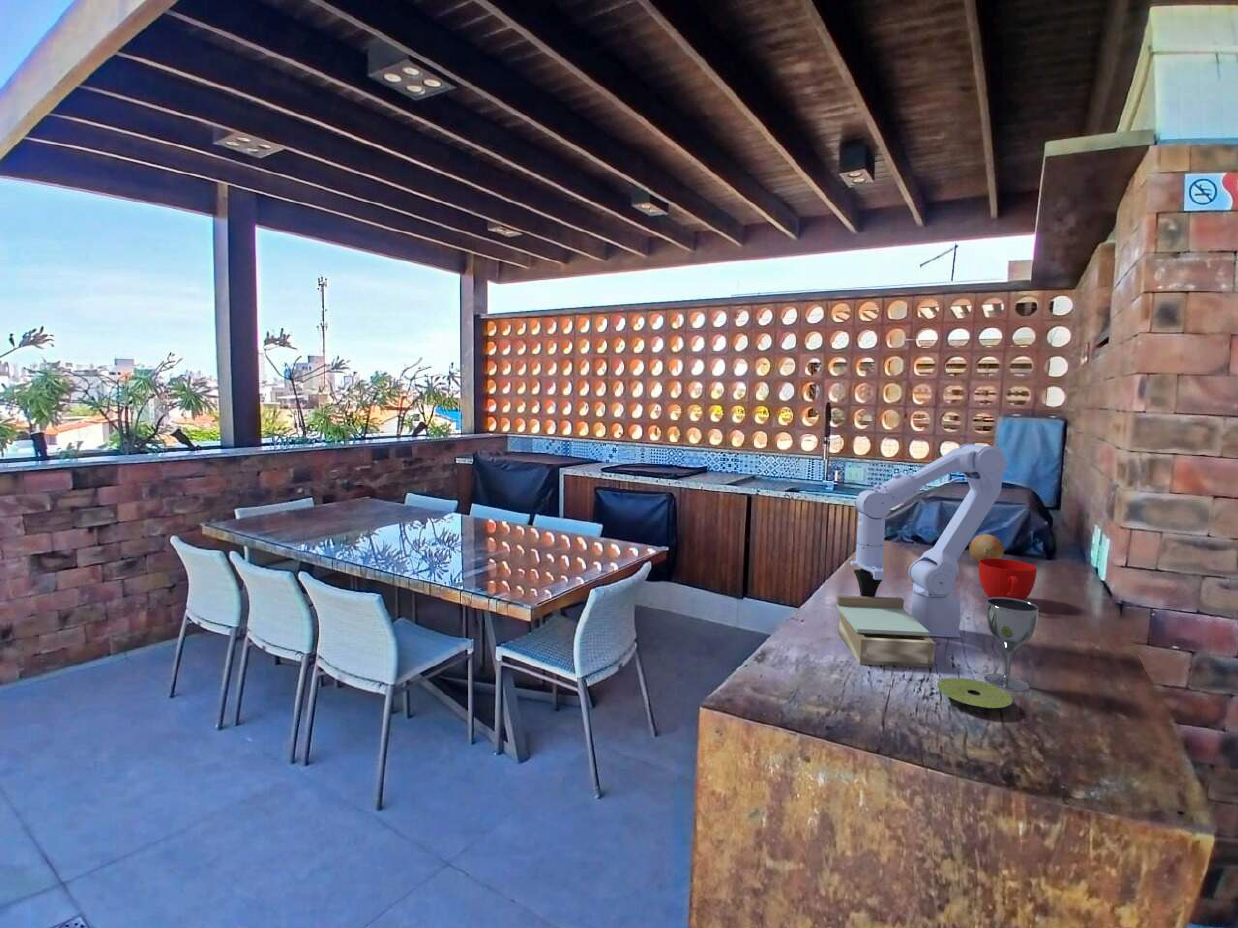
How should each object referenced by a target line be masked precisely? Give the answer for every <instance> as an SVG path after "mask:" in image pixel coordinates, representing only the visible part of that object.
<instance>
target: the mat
mask: <svg viewBox="0 0 1238 928" xmlns="http://www.w3.org/2000/svg"><path fill="white" fill-rule="evenodd" d="M936 685H937V688H938V689H939V690H938V691H940V692H941V693H942V694H944V695H945V696H947V697H948V698H951V699H953V700H955V701H957V702H959V703H962V704H966V705H970V706H974V707H975V706H976V707H981V708H988V709H996V708H997V709H998V708H999V709H1001V708H1005V707H1008V706H1010V705H1011V704H1012V703H1013V698H1012V696H1011V695H1010V694H1009V693H1008V692H1007V691H1005V690H1004V689H1002V688H999V687H996V686H994V685H991V684H990V683H988V682H985V681H984V682H983V681H980V680H976V679H972V678H965V677H947V678H942V679H941V680H939V681H937V684H936Z"/></svg>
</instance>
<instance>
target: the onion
mask: <svg viewBox="0 0 1238 928" xmlns="http://www.w3.org/2000/svg"><path fill="white" fill-rule="evenodd" d="M969 543H970V544H969V549H968V550H969V555H970V557H971V558H972V559H973V561H975V562H976V561H978V562H979V561H980V560H982V559H1003V556H1004V552H1005V551H1004V546H1003V543H1002V542H1001V540H1000V539H999V538H998V537H996V536H995V535H992V534H990V533H989V534H987V533H982V534H981V533H980V534H978V535H977V536H975V537H974V538H972V539H971V540H970V542H969ZM978 562H977V563H978Z"/></svg>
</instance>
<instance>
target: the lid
mask: <svg viewBox="0 0 1238 928" xmlns="http://www.w3.org/2000/svg"><path fill="white" fill-rule="evenodd" d="M836 596H837V597H836V608H837V609H838V611H839V613H842V614H843V616H844V617H845V618H846V620H847V621H848V622H849V623H850V625H851V626H852V627H853V628H854V630H855V631H856V632H857V633H874V634H895V635H917V636H928V637H930V636H929V633H930V632H929V631H928V630H927V629H925V628H924V627H923V626H922V625H921V624H920V623H919V622H918V621H916V620H915V619H914V618H913V617H912V616H911V613H909V612H908V611H906V609H904V607H905V606H904V604H905V599H903V598H902V597H894V596H893V597H889V596H887V597H886V596H875V597H870V596H861V595H841V594H840V595H839V594H837V595H836Z"/></svg>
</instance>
